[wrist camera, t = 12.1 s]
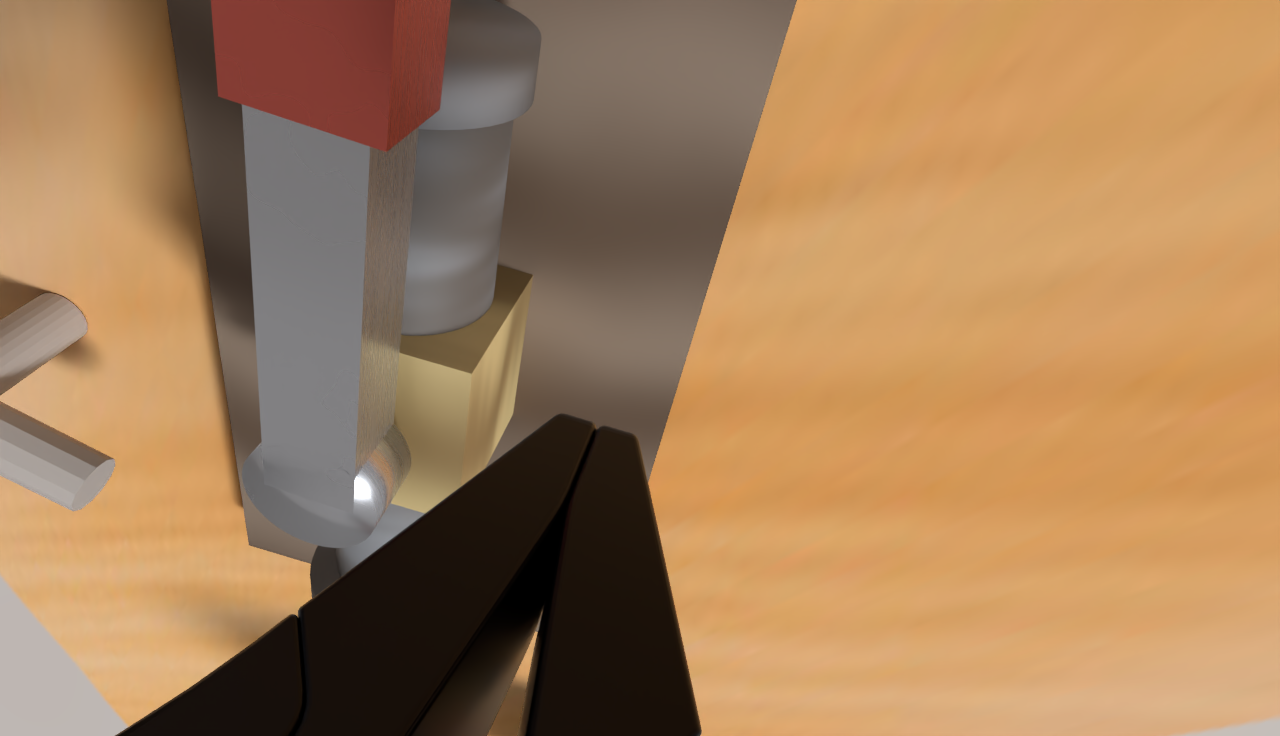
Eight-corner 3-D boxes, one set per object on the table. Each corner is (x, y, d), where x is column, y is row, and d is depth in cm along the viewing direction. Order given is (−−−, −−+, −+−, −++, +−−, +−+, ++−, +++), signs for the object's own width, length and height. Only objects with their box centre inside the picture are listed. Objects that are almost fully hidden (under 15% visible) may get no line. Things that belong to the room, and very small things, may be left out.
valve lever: (408, 503, 19) (370, 567, 18) (291, 465, 19) (242, 525, 18) (492, -258, 10) (429, -268, 9) (270, -332, 10) (166, -355, 9)
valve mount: (183, -208, 17) (-97, -211, 12) (806, -39, 17) (797, 34, 12) (271, 517, 32) (161, 657, 26) (605, 616, 31) (560, 779, 26)
